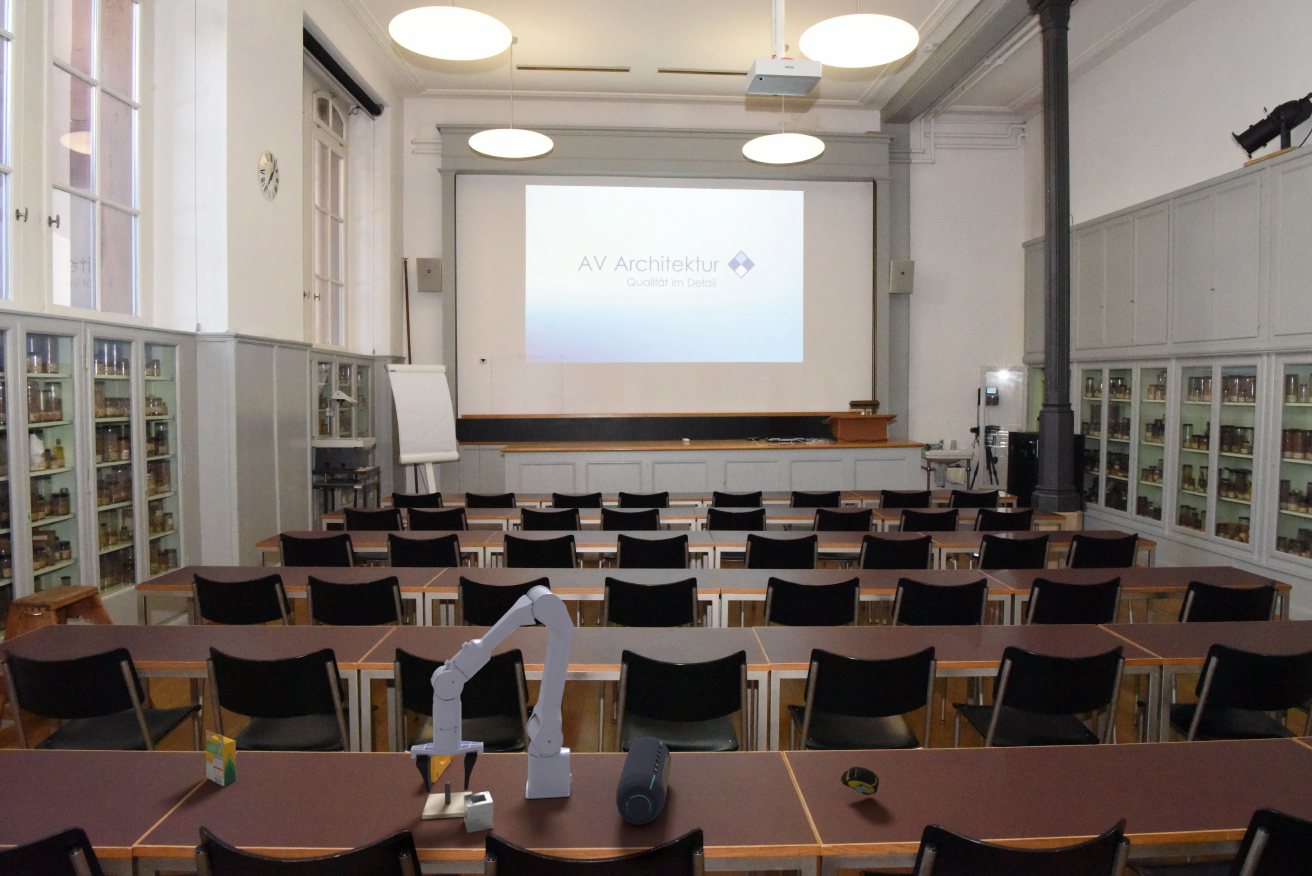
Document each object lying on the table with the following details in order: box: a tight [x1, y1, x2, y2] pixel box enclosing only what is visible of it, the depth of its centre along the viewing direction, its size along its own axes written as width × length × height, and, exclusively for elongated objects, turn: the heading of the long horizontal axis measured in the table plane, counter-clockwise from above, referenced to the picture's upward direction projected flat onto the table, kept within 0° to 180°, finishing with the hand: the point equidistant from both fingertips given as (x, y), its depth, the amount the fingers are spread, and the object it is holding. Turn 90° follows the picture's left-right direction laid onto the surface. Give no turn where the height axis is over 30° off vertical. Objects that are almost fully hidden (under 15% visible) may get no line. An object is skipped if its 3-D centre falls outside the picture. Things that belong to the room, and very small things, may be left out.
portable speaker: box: [615, 736, 672, 826], centre depth 166 cm, size 25×10×10 cm, turn 175°
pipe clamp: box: [431, 755, 455, 783], centre depth 180 cm, size 12×4×6 cm, turn 175°
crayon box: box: [205, 729, 237, 787], centre depth 174 cm, size 7×3×12 cm, turn 58°
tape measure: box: [840, 766, 880, 796], centre depth 166 cm, size 7×7×4 cm
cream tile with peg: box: [421, 781, 473, 820], centre depth 163 cm, size 9×9×5 cm
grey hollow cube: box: [463, 790, 494, 834], centre depth 156 cm, size 5×5×5 cm
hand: (447, 789), depth 163 cm, fingers open, 7 cm apart
